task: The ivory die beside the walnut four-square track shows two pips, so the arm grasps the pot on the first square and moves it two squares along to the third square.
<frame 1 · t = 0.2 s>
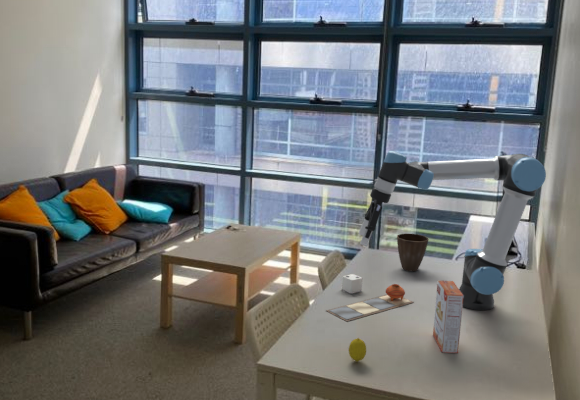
hand: (362, 239, 225), 27 cm above the table, tool tilted 20°, fingers open, 13 cm apart
lemon: (356, 362, 183), on the table
cracker box: (444, 344, 198), on the table
plant pot: (409, 269, 279), on the table
board: (371, 306, 229), on the table
pot: (394, 299, 237), on the table, touching board
die: (351, 290, 247), on the table
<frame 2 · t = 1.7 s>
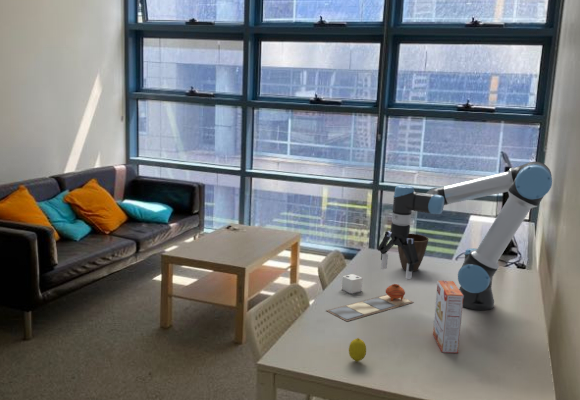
hand: (395, 273, 235), 12 cm above the table, tool pointing down, fingers open, 13 cm apart
nothing on the table moved.
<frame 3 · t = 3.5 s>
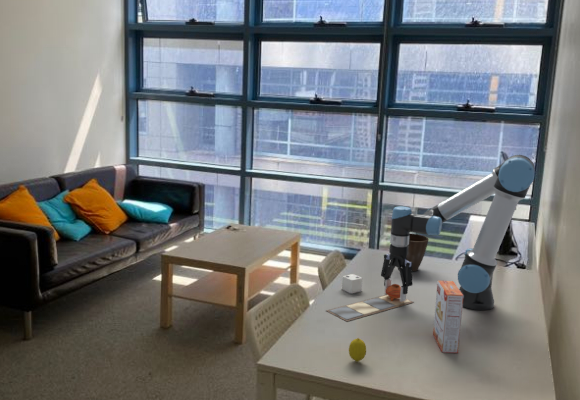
hand: (394, 297, 237), 1 cm above the table, tool pointing down, fingers closed on pot, 8 cm apart
pot: (394, 299, 237), on the table, touching board, gripper
everything else where it was.
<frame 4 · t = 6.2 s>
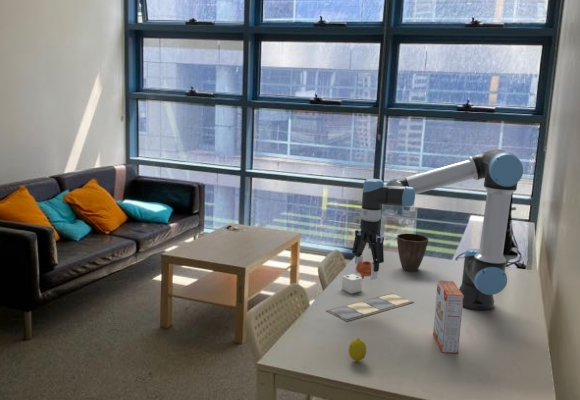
hand: (366, 275, 224), 14 cm above the table, tool pointing down, fingers closed on pot, 8 cm apart
pot: (365, 277, 225), point 13 cm above the table, touching gripper
everything else where it was.
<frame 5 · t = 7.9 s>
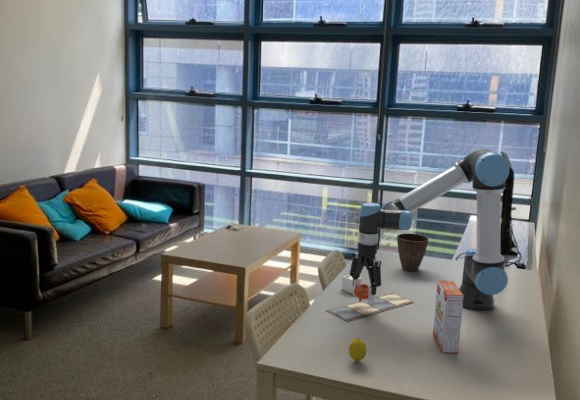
hand: (363, 298, 226), 4 cm above the table, tool pointing down, fingers closed on pot, 8 cm apart
pot: (363, 300, 226), point 3 cm above the table, touching gripper
everything else where it was.
when the fingers open (2 cm above the table, at t = 9.2 s): pot stays where it is, resting on board.
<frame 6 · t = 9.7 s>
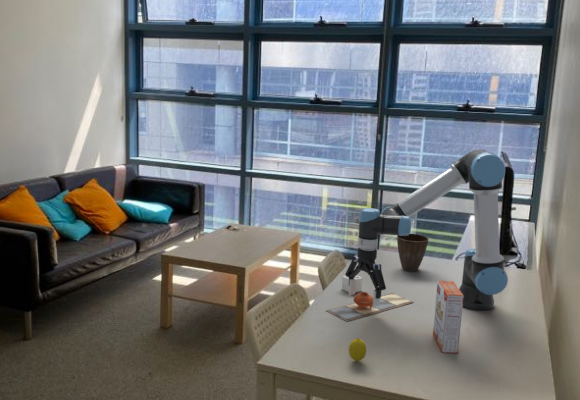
hand: (363, 300, 226), 4 cm above the table, tool pointing down, fingers open, 13 cm apart
pot: (363, 308, 227), resting on board
everything else where it was.
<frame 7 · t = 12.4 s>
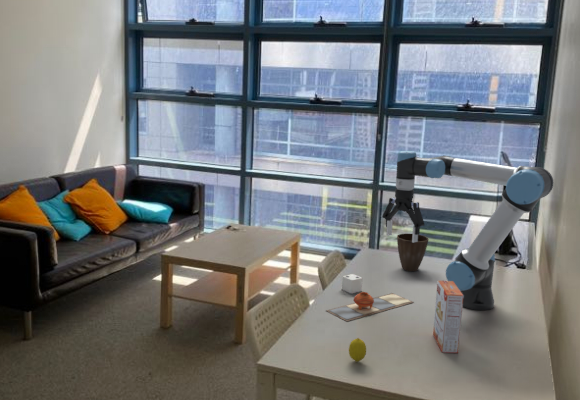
hand: (401, 238, 240), 24 cm above the table, tool pointing down, fingers open, 13 cm apart
nothing on the table moved.
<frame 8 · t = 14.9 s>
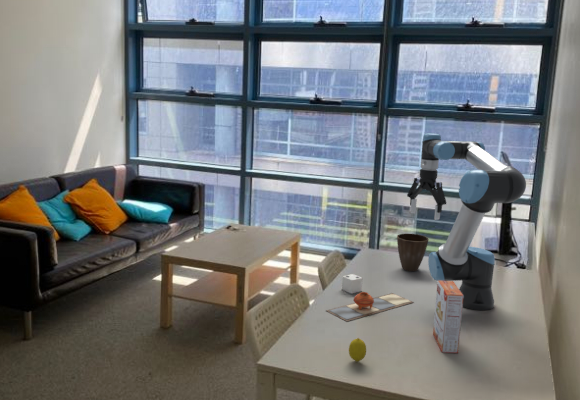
hand: (424, 216, 255), 31 cm above the table, tool pointing down, fingers open, 13 cm apart
nothing on the table moved.
at the end: pot inside the target area on the board (0.1 cm from its centre), point 0.2 cm above the board's base; pot tilted 0°; the gripper is holding nothing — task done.
